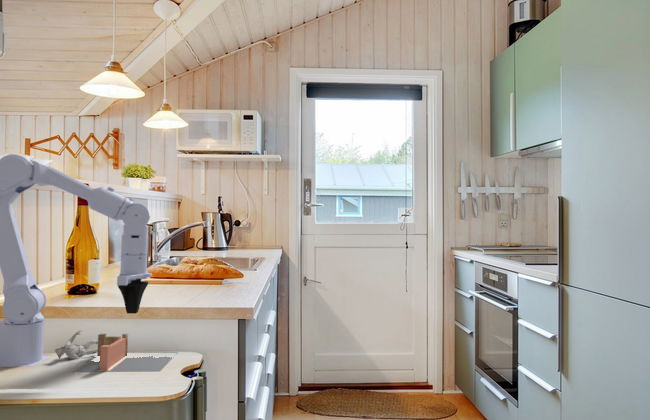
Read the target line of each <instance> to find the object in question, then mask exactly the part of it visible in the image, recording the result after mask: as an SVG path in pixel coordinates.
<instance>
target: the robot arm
mask: <svg viewBox="0 0 650 420" xmlns="http://www.w3.org/2000/svg"><path fill="white" fill-rule="evenodd" d="M35 185H37V186H40V187H41V186H42V187H43V186H44V187H45V186H54V187H56V188H58V189H60V190H63V191H65V192H67V193H69V194H72V195H74V196H76V197H79V198H80V199H83V200H86V201H87V203H88V207H89V209H90V210H93V211H95V212H96V213H98V214H99V213H100V214H102V215H104V216H105V217H108V218H110V219H112V220H115V221H121V220H122V222H123V229H122V230H123V231H122V232H123V233H122V234H121V249H120V250H121V251H120V253H121V255H120V270H119V271H120V272H119V275H118V276H117V278H116V286H117V287H118V289H119V292H120V293H121V295H122V297H123V298H122V299H123V303H124V307H125V311H126V314H138V313H139V309H140V306H141V302H142V299H143V298H142V297H143V295H144V294H145V293H144V292H145V290H146V289H147V287H148V285H149V281H148V280H146V279H148V278H151V277H153V273H151V272H149V270H148V251H149V235H148V233H149V227H148V224H149V221H150V219H151V215H150V213H149V209H148V208H147V207H146V206H145V205H144V204H141V203H135V202H134V201H135V199H134V198H132V197H129V198H128V197H126V196H124V195H122V194H119V193H118V192H115V189H114V187H111V186H108V187H105V186H99V187H96V188H94V187H91V186H89V185H87V184H86V183H84V182H82V181H80V180H78V179H75V178H74V177H72V176H70V175H68V174H67V173H64V172H62V171H60V170H58V169H56V168H54V167H51V166H49V165H47V164H44V163H41V162H38V161H36V160H32V159H30V161H29V160H28V159H27V158H26V157H24V156H23V155H19V154H7V155H5V156H3V157H1V158H0V272H1V275H2V279H3V286H2V288H3V289H2V293H3V297H4V301H3V303H2V313H3V316H4V320H3V321H0V367H33V366H35V365H37V364H38V363H40V362H43V361H44V360H47V359H48V358H50V357H51V356H52V355H49V354H45V355H44V353H43V352H44V338H45V337H44V336H45V335H44V334H45V316H44V315H43V314H42V312H41V311H42V310H43V309H44V308H45V306H46V303H47V298H46V297H47V296H46V294H45V293H44V292H43V290H41V289H40V288H39V286H38V284H37V280H36V279H35V277H34V276H33V274H32V271H31V268H30V264H29V261H28V257H27V253H26V250H25V246H24V243H23V242H24V241H23V239H22V236H21V232H20V229H19V225H18V222H17V218H16V215H15V211H14V207H13V204H14V202H15V201H16V200H17V198H19V196H20V195H21V194H22V193H24V192H25V191H27V190H29V189H30V188H32V187H34V186H35Z"/></svg>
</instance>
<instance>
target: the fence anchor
mask: <svg viewBox="0 0 650 420" xmlns="http://www.w3.org/2000/svg"><path fill="white" fill-rule="evenodd" d="M121 336H122V337H121ZM121 336H107V333H99V334H98V336H97V340H98V344H97V348H98V352H97V354H96V356H100V353H101V346H103V345H110V344H112V343H114V342H115V341H117V340H119V339H120V338H126V347H125V356H127V352H128V347H129V334H128V333H122V334H121Z"/></svg>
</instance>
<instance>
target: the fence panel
mask: <svg viewBox="0 0 650 420" xmlns="http://www.w3.org/2000/svg"><path fill="white" fill-rule="evenodd" d="M125 347H126V338H122V337H121V338H120V339H119V340H117V341H115V342H114V343H112V344H110V345H103V346H101V353H100V370H108V369H109V368H110V367H111V366H112V365H114V364H115V363H116V362H118V361H119V360H121V359H122V358H123V357H125Z"/></svg>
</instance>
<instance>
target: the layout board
mask: <svg viewBox="0 0 650 420" xmlns="http://www.w3.org/2000/svg"><path fill="white" fill-rule="evenodd" d="M127 353H177V354H178V353H179V352H178V351H172V352H171V351H169V352H167V351H166V352H165V351H153V352H151V351H150V352H148V351H146V352H145V351H140V352H137V351H135V352H133V351H132V352H131V351H130V352H127ZM172 359H173V358H172V357H171V358H170V357H166V356H165V357H159V358H155V357H154V358H153V356H151V357H150V356H149V357H142V358H141V357H139V358H138V357H137V358H134V357H133V358H127V357H123V358H122V359H121V360H119V361H118V362H116V363H115V364H114V365H112V366H111V367H110V368H109V369H108V370H100V361H99V362H94V361H90V360H89V361H87V362H86V363H85V362H84V364H82V365H81V366H79V367H78V368H75V369H74V370H73V371H72V373H105V372H106V373H108V372H109V373H113V372H114V373H116V372H118V373H120V372H122V373H123V372H125V373H126V372H129V373H130V372H131V373H132V372H133V373H134V372H135V373H136V372H146V373H147V372H161V371H162V370H163V369H164V368H165V367H166V366H167V365H168V364H170V362H171V361H172Z"/></svg>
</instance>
